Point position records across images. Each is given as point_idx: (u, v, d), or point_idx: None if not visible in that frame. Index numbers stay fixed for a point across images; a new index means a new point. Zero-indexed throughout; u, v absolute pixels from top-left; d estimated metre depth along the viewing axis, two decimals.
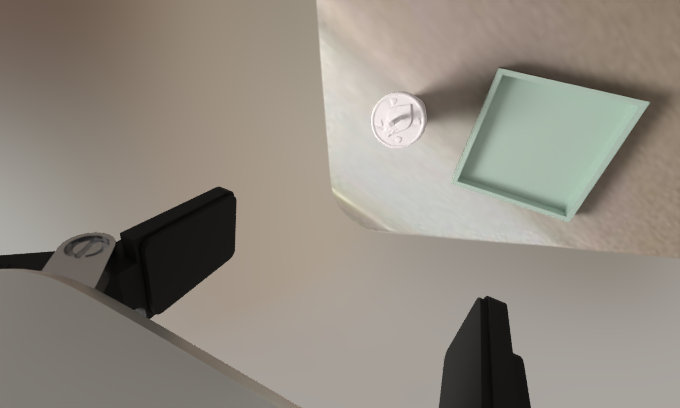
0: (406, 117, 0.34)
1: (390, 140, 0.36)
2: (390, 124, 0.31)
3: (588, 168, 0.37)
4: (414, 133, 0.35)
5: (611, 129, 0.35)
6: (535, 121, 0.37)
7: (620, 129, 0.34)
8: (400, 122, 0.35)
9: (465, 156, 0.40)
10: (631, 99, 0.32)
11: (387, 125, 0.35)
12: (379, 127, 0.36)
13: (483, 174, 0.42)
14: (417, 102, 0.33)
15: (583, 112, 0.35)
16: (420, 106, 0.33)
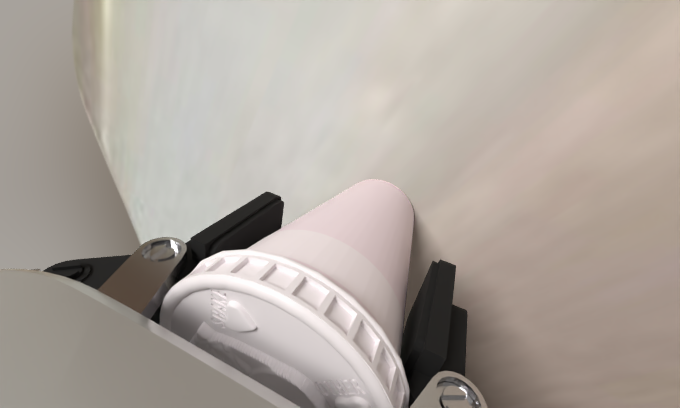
0: None
1: (185, 337, 0.08)
2: None
3: None
4: None
5: None
6: None
7: None
8: None
9: None
10: None
11: (233, 356, 0.07)
12: (220, 310, 0.06)
13: None
14: None
15: None
16: None
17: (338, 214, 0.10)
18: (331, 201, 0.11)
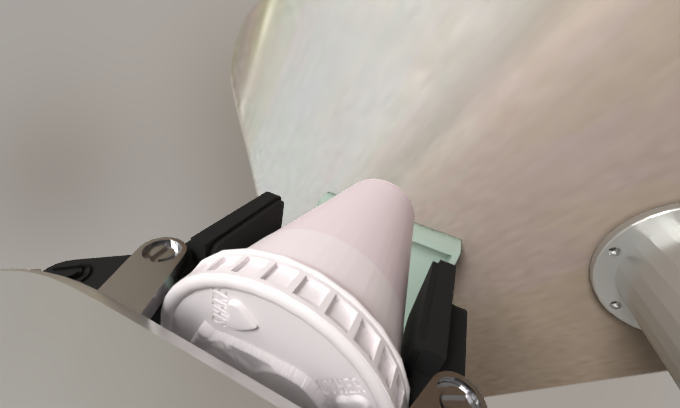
0: None
1: (186, 336, 0.08)
2: None
3: None
4: None
5: None
6: None
7: None
8: None
9: None
10: None
11: (234, 355, 0.07)
12: (221, 309, 0.06)
13: None
14: None
15: (406, 305, 0.36)
16: None
17: (338, 213, 0.10)
18: (331, 201, 0.11)
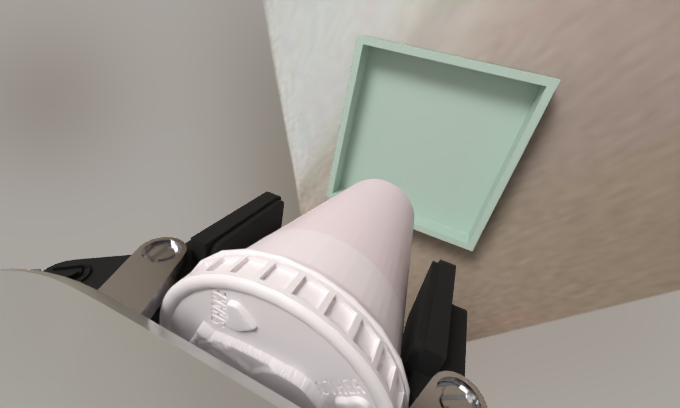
0: None
1: (184, 337, 0.08)
2: None
3: None
4: None
5: (440, 219, 0.30)
6: (456, 142, 0.27)
7: (440, 229, 0.29)
8: None
9: (406, 50, 0.24)
10: (477, 236, 0.27)
11: (233, 356, 0.07)
12: (220, 310, 0.06)
13: (377, 84, 0.27)
14: None
15: (464, 192, 0.28)
16: None
17: (338, 213, 0.10)
18: (331, 201, 0.11)
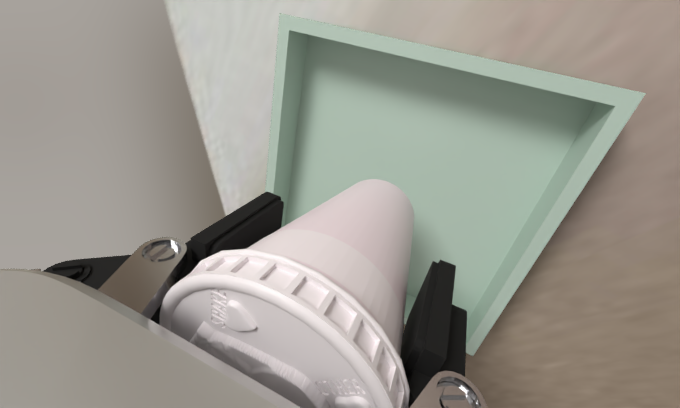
0: None
1: (185, 337, 0.08)
2: None
3: None
4: None
5: None
6: (448, 189, 0.17)
7: None
8: None
9: (358, 39, 0.14)
10: (481, 337, 0.17)
11: (233, 356, 0.07)
12: (220, 310, 0.06)
13: (323, 96, 0.17)
14: None
15: (460, 263, 0.18)
16: None
17: (338, 213, 0.10)
18: (331, 201, 0.11)
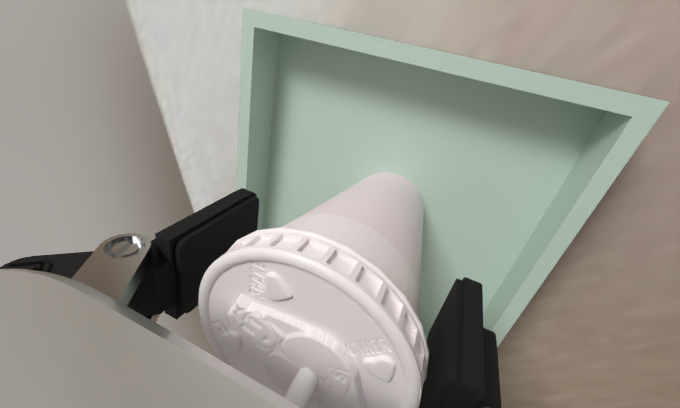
0: (312, 397, 0.08)
1: (221, 310, 0.08)
2: None
3: None
4: None
5: None
6: (438, 206, 0.15)
7: None
8: (290, 373, 0.08)
9: (332, 37, 0.12)
10: None
11: (269, 323, 0.07)
12: (258, 281, 0.07)
13: (298, 102, 0.15)
14: None
15: None
16: None
17: (356, 201, 0.10)
18: (347, 191, 0.12)
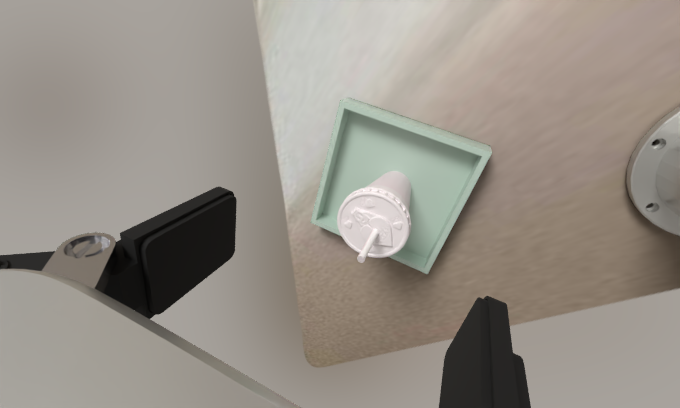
0: (375, 239, 0.26)
1: (346, 214, 0.26)
2: (360, 258, 0.22)
3: None
4: (356, 243, 0.27)
5: (404, 246, 0.36)
6: (417, 187, 0.33)
7: (403, 254, 0.36)
8: (369, 231, 0.26)
9: (378, 117, 0.30)
10: (431, 263, 0.34)
11: (366, 215, 0.25)
12: (363, 202, 0.25)
13: (355, 136, 0.33)
14: (394, 252, 0.26)
15: (423, 226, 0.35)
16: (388, 255, 0.26)
17: (387, 181, 0.28)
18: (381, 178, 0.30)
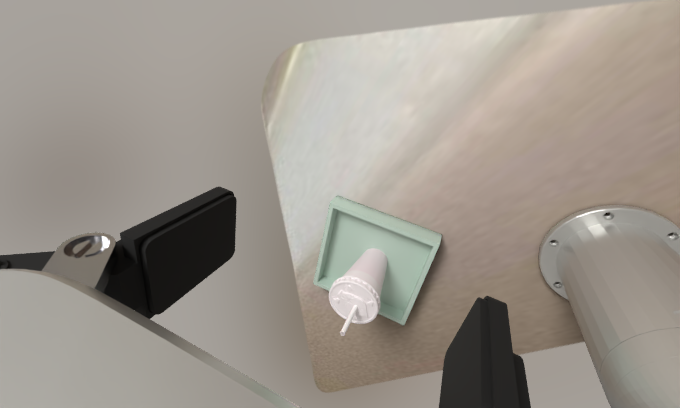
0: (356, 312, 0.36)
1: (335, 293, 0.37)
2: (342, 333, 0.32)
3: None
4: (343, 313, 0.38)
5: (386, 302, 0.47)
6: (392, 260, 0.43)
7: (385, 309, 0.46)
8: (351, 306, 0.36)
9: (357, 215, 0.40)
10: (406, 317, 0.44)
11: (348, 295, 0.36)
12: (346, 287, 0.36)
13: (344, 223, 0.44)
14: (369, 320, 0.36)
15: (399, 288, 0.45)
16: (366, 322, 0.37)
17: (365, 265, 0.39)
18: (362, 259, 0.41)
